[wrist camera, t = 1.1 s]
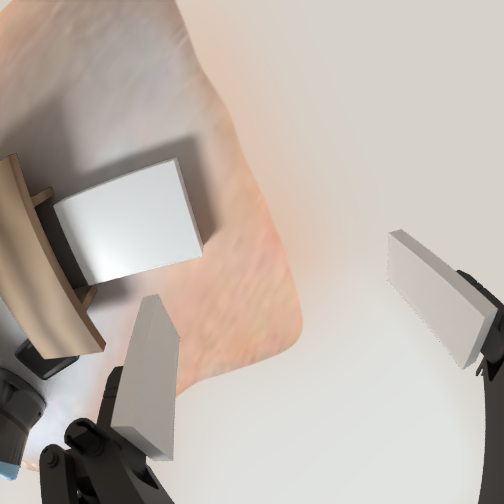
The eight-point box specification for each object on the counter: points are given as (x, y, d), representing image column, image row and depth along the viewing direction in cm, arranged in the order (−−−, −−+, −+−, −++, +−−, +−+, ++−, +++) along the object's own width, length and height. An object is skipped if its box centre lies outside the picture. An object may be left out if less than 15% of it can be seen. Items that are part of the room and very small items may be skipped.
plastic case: (97, 272, 31) (89, 285, 28) (65, 197, 26) (53, 205, 24) (203, 243, 31) (202, 255, 29) (177, 156, 27) (173, 160, 24)
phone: (81, 358, 35) (43, 381, 37) (83, 353, 36) (45, 377, 38) (43, 324, 32) (12, 354, 34) (46, 319, 33) (15, 350, 35)
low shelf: (58, 331, 34) (44, 359, 28) (-15, 183, 22) (-43, 197, 17) (114, 320, 34) (103, 351, 28) (38, 146, 23) (7, 155, 17)
